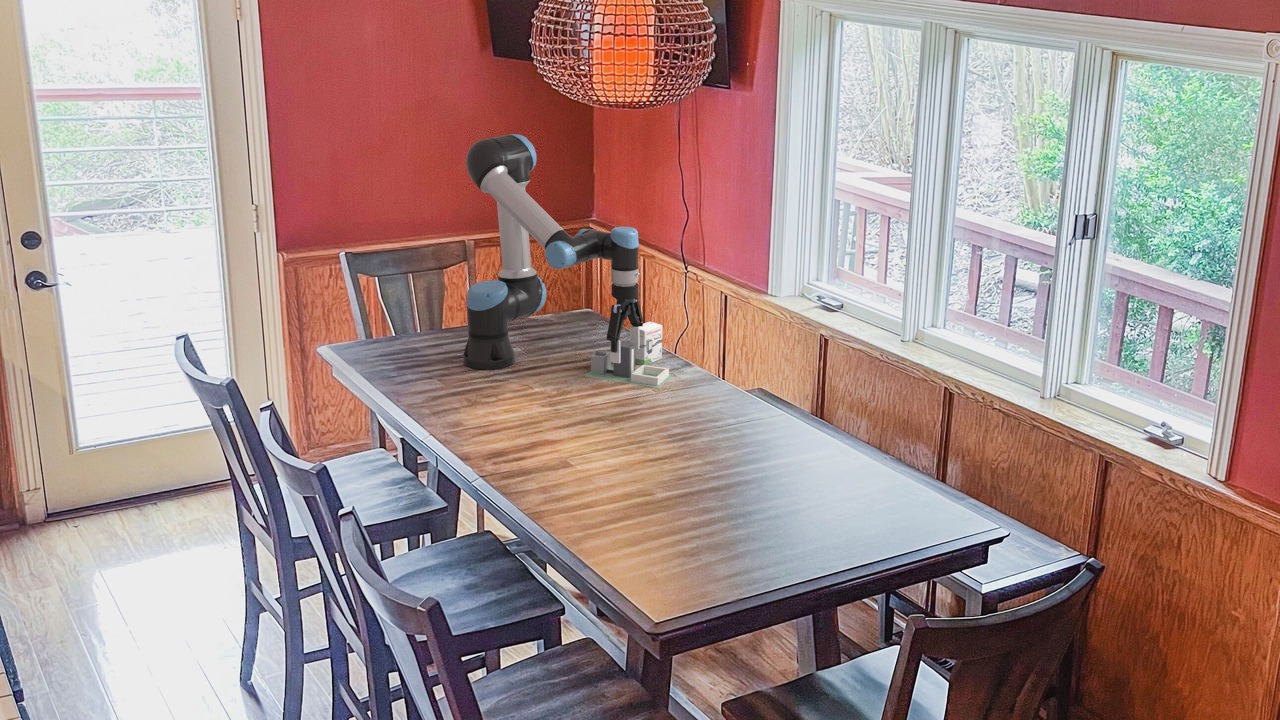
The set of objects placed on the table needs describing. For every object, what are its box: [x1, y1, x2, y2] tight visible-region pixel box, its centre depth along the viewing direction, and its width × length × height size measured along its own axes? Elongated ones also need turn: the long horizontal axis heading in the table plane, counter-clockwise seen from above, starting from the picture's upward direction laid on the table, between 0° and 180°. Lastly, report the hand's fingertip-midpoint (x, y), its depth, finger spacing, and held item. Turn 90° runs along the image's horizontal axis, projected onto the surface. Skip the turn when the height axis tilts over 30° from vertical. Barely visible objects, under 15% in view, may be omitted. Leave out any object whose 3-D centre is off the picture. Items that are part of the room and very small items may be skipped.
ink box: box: [635, 321, 663, 366], centre depth 367 cm, size 9×5×12 cm, turn 140°
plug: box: [612, 341, 636, 378], centre depth 354 cm, size 5×4×9 cm
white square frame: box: [631, 364, 670, 386], centre depth 353 cm, size 8×9×2 cm
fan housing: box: [590, 349, 613, 374], centre depth 358 cm, size 6×5×6 cm
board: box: [583, 364, 674, 389], centre depth 356 cm, size 23×12×1 cm, turn 67°
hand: (625, 355), depth 354 cm, fingers open, 13 cm apart
